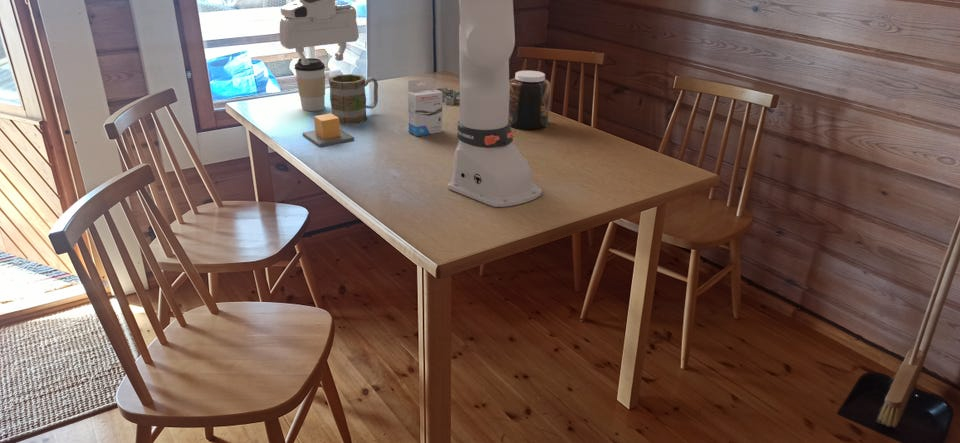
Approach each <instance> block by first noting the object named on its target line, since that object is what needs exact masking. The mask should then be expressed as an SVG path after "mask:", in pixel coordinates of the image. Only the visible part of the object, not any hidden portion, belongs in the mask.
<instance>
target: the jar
mask: <svg viewBox="0 0 960 443" xmlns="http://www.w3.org/2000/svg"><path fill="white" fill-rule="evenodd" d="M550 82H551V81H549V80H548V79H546V74H545V73H544V72H542V71H538V70H537V71H536V70H518V71H516V72H515V76H514V78H511V79H509V86H510V94H509V118H508V122H509V123H510V127H511V128H512V129H517V130H521V131H540V130H543V129H546V128H547V127H548V125H549V115H550V114H549V113H550V101H551V100H550V99H551V83H550Z"/></svg>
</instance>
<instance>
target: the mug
mask: <svg viewBox="0 0 960 443" xmlns="http://www.w3.org/2000/svg"><path fill="white" fill-rule="evenodd" d="M371 81H373V102H372V104H371V105H368V104H367V97H366V96H367V95H366V87H367V86H368V85H369V83H370V82H371ZM328 85H329V101H330V106H331V108H330V109H331V114H333V115H335V116H337V117H338V118H339V122H340V124H342V125H352V124H353V125H354V124H360V122H361V123H363V122H365V121H366V120H368V116H367V109H374V108H376V107H377V105H378V103H379V102H378V100H379V99H378V96H379V94H378V93H379V84H378V80H377V78H375V77H372V76H369V77H367V78H365V76H364V75H360V74H353V73H352V74H351V73H349V74H336V75H333V76H329V77H328Z"/></svg>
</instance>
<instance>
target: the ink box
mask: <svg viewBox="0 0 960 443" xmlns="http://www.w3.org/2000/svg"><path fill="white" fill-rule="evenodd" d="M407 82H408V83H407V85H408V86H407V87H408V88H407V89H408V91H407V112H408V113H407V116H408V118H407V120H408V133H410V134H412V135H414V137H415V136H416V137H419V136H420V137H421V136H426V135H427V136H428V135H432V134H433V135H434V134H438V133H439V134H440V133H442V132H443V102H442V91H439V90H437V89H435V87H434V86H435V78H434V77H425V78H417V79H409V80H408V81H407ZM420 83H425V84H420ZM418 84H419V85H418Z"/></svg>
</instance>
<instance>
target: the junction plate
mask: <svg viewBox="0 0 960 443" xmlns="http://www.w3.org/2000/svg"><path fill="white" fill-rule="evenodd" d="M302 136H303V137H304V138H306V139H307V140H309V141H311V142H312V143H313V144H315V145H316V146H318V147H319V148H320V147H325V146H331V145H335V144H340V143H342V144H343V143H345V142H351V141H355V137H354V136H353V135H351V134H349V133H347V132H346V131H344V130H342V129H341V128H340V136H337V137H331V138H326V139H323V138H321V137H319V136H318V135H316V132H315V130H309V131H304V132H302Z"/></svg>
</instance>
